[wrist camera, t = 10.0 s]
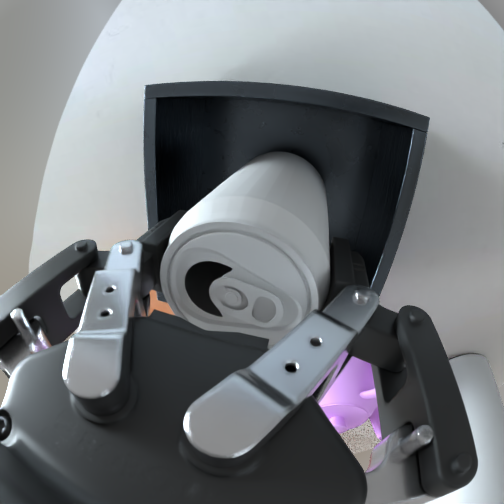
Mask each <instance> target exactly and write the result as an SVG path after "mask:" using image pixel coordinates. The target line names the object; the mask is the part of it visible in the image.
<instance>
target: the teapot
mask: <svg viewBox="0 0 504 504" xmlns="http://www.w3.org/2000/svg"><path fill="white" fill-rule="evenodd" d="M319 405H320V407H321V408H322V410H323V411H324V413H325V414H326V416H327V417H328V419H329V420H330V422H331V423H332V425H333V426H334V427H335V429H336V430H337V432H338V433H339V434H340V433H343V432H345V431H347V430H349V429H352V428H355V427H358V426H360V425H361V424H363V423H364V422H366V421H367V419H368V418H369V419H370V421H371V423H372V426H373V429H374V432H375V434H376V435H377V437H378V438H379V439H380V440H382V437H381V428H380V419H379V412H378V405H377V398H376V392H375V385H374V379H373V374H372V368H371V364H370V363H368V362H365V361H363V360H360V359H358V358H356V357H353V358H352V359H351V360H350V362H349V363H348V365H347V366H346V367H345V369H344V370H343V371H342V373H341V374H340V376H339V377H338V378H337V380H336V381H335V382H334V383H333V385H332V386H331V388H330V389H329V390H328V392H327V393H326V395H325V396H324V398H323V399H322V401H321V402H320V403H319Z"/></svg>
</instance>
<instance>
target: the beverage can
mask: <svg viewBox="0 0 504 504" xmlns="http://www.w3.org/2000/svg"><path fill="white" fill-rule="evenodd" d="M160 281H161V287H162V290H163V294H164V296H165V299H166V301H167V303H168V305H169V306H170V308H171V310H172V311H173V313H174V314H175V315H176V316H179V317H181V318H183V319H185V320H186V321H188V322H190V323H192V324H194V325H196V326H198V327H200V328H202V329H204V330H208V331H224V332H240V333H244V334H249V335H253V336H257V337H262V338H267V339H269V343H268V349H270V348H272V347H273V346H274V345H275V344H276V343H277V342H278V341H280V340H281V339H282V338H283V337H284V336H285V335H286V334H287V333H289V332H290V331H291V330H292V329H293V328H294V327H295V326H296V325H297V324H298V323H300V322H301V321H302V320H303V319H304V318H305V317H306V316H307V315H308V314H309V313H310V312H311V311H313V310H314V309H318V310H321V308H322V307H323V305H324V303H325V301H326V299H327V296H328V292H329V288H330V246H329V225H328V209H327V196H326V189H325V185H324V182H323V180H322V178H321V176H320V174H319V173H318V171H317V170H316V169H315V168H314V166H312V165H311V164H310V163H309V162H308V161H307V160H305V159H303V158H302V157H300V156H298V155H295V154H292V153H288V152H268V153H264V154H262V155H259V156H257V157H255V158H254V159H252V160H251V161H249V162H248V163H247V164H246V165H244V166H243V167H242V168H240V169H239V170H238V171H237V172H235V173H234V174H233V175H231V176H230V177H229V178H228V179H226V180H225V181H224V182H223V183H221V184H220V185H219V186H218V187H216V188H215V189H214V190H213V191H212V192H210V193H209V194H208V195H207V196H206V197H204V198H203V199H202V200H201V201H200V202H198V203H197V204H196V205H195V206H194V207H192V208H191V209H190V210H189V211H188V212H187V213H186V214H185V215H184V216H183V217H182V218H181V219H180V221H179V222H178V223H177V225H176V226H175V227H174V229H173V231H172V233H171V236H170V239H169V242H168V247H167V249H166V251H165V253H164V256H163V259H162V262H161V267H160Z"/></svg>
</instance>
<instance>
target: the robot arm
mask: <svg viewBox="0 0 504 504" xmlns="http://www.w3.org/2000/svg"><path fill="white" fill-rule="evenodd" d="M187 212H188V211H184V210H179V211H177V212H176V213H175V214H174V215H172V216H171V217H170V218H167V219H164V220H162V221H160V222H158V223H157V224H156V225H155V226H154V227H152V228H151V229H150V230H149V231H147V232H146V233H145V234H144V235H142V236H141V237H140V238H139V239H138V240H124V241H121V242H118V243H116V244H115V245H113V246H112V247H111V249H110V251H98V250H97V245H96V242H95V241H93V240H81V241H78V242H75V243H74V244H72V245H71V246H69V247H67V248H66V249H64V250H63V251H61V252H60V253H58V254H57V255H55V256H54V257H52V258H51V259H50V260H48V261H47V262H45V263H44V264H42V265H41V266H40V267H38V268H37V269H35V270H34V271H33V272H31V273H30V274H29V275H27V276H26V277H24V278H23V279H22V280H20V281H19V282H18V283H17V284H15V285H14V286H13V287H11V288H10V289H9V290H8V291H6V292H5V293H4V294H3V295H1V296H0V369H2V371H3V372H4V373H5V374H6V375H7V377H8V378H9V379H10V381H9V385H8V389H7V392H6V396H5V399H4V402H3V404H2V406H1V408H0V504H425V503H428V502H430V501H433V500H435V499H438V498H440V497H443V496H445V495H447V494H450V493H452V492H454V491H456V490H458V489H461V488H463V487H465V486H466V485H468V484H469V483H470V482H471V481H472V480H473V478H474V477H475V475H476V472H477V469H478V457H477V452H476V447H475V443H474V439H473V434H472V430H471V427H470V423H469V419H468V416H467V412H466V409H465V405H464V402H463V399H462V396H461V393H460V390H459V387H458V384H457V381H456V378H455V375H454V373H453V370H452V367H451V365H450V362H449V360H448V357H447V355H446V352H445V350H444V347H443V345H442V342H441V340H440V338H439V335H438V333H437V331H436V329H435V326H434V324H433V322H432V320H431V318H430V316H429V315H428V314H427V313H426V312H425V311H424V310H422V309H420V308H418V307H416V306H411V305H407V306H403V307H402V308H401V309H400V311H399V313H396V312H393V311H391V310H388V309H386V308H384V307H382V306H381V305H379V297H378V295H377V294H376V293H375V292H374V291H373V290H372V289H370V287H369V282H368V277H367V273H366V268H365V263H364V259H363V258H362V256H361V255H360V254H359V253H358V252H354V251H351V250H350V244H349V240H348V239H343V238H338V237H333V238H332V241H331V245H330V288H329V292H328V296H327V299H326V301H325V303H324V305H323V307H322V311H320V310H318V309H314V310H313V311H311V312H310V313H309V314H308V315H307V316H306V317H305V318H304V319H303V320H302V321H301V322H300V323H298V324H297V325H296V326H295V327H294V328H293V329H292V330H291V331H290V332H289V333H287V334H286V335H285V336H284V337H283V338H282V339H281V340H280V341H278V342H277V343H276V344H275V345H274V346H273V347H272V348H270V349H268V343H269V339H267V338H262V337H257V336H253V335H249V334H244V333H240V332H224V331H208V330H204V329H202V328H200V327H198V326H196V325H194V324H192V323H190V322H188V321H186V320H185V319H183V318H181V317H179V316H175V315H172V314H168V313H165V312H162V311H158V310H155V309H154V310H153V312H152V313H151V314H150V293H149V292H150V291H151V290H154V291H158V292H163V290H162V287H161V281H160V267H161V262H162V259H163V256H164V253H165V251H166V249H167V247H168V242H169V239H170V236H171V233H172V231H173V229H174V227H175V226H176V225H177V223H178V222H179V221H180V219H181V218H182V217H183V216H184V215H185V214H186V213H187ZM74 276H75V277H76V280H77V283H78V286H79V289H78V290H77V291H76V292H74V293H73V294H72V295H71V296H70V297H68V298H67V299H66V300H65V301H64V302H62V299H61V296H60V290H61V287H62V286H63V285H64V284H65V283H66V282H67V281H69V280H70V279H71V278H73V277H74ZM78 327H79V329H78V332H77V333H76V334H73V335H72V336H71V338H70V340H67V341H65V342H63V341H64V340H65V339H66V338H67V337H68V336H70V335H71V334H72V333H73V332H74V331H75V330H76V329H77V328H78ZM353 357H356V358H358V359H360V360H363V361H365V362H368V363H370V364H371V368H372V374H373V379H374V385H375V392H376V398H377V405H378V412H379V419H380V428H381V437H382V441H381V442H380V443H379V444H377V445H376V446H375V447H374V449H373V450H372V453H371V456H370V464H369V467H368V469H367V471H366V472H365V473H364V470H363V468H362V467H361V465H360V464H359V462H358V461H357V459H356V458H355V457H354V455H353V454H352V452H351V451H350V449H349V448H348V446H347V445H346V444H345V442H344V441H343V439H342V438H341V436H340V435H339V433H338V432H337V430H336V429H335V427H334V426H333V425H332V423H331V422H330V420H329V419H328V417H327V416H326V414H325V413H324V411H323V410H322V408H321V407H320V405H319V403H320V402H321V401H322V399H323V398H324V396H325V395H326V393H327V392H328V390H329V389H330V388H331V386H332V385H333V383H334V382H335V381H336V380H337V378H338V377H339V376H340V374H341V373H342V371H343V370H344V369H345V367H346V366H347V365H348V363H349V362H350V360H351V359H352V358H353Z"/></svg>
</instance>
